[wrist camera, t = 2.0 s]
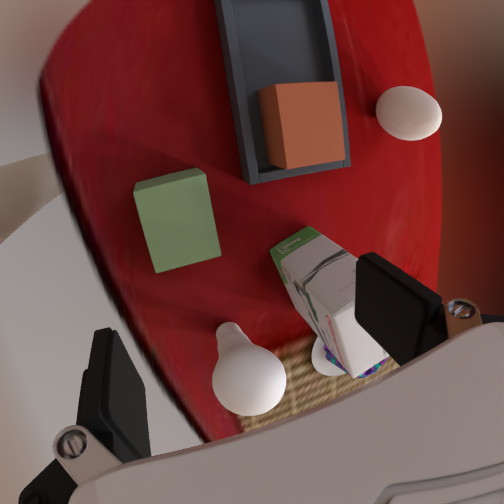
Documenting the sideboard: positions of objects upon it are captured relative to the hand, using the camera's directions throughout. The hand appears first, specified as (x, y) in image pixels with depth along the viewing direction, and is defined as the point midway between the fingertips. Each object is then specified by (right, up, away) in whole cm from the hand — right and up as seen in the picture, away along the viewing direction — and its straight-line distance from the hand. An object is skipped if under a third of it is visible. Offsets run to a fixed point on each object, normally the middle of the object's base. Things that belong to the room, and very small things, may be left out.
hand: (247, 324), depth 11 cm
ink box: (+5, +1, +21) cm, 21 cm away
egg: (+13, +17, +17) cm, 27 cm away
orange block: (+3, +14, +14) cm, 20 cm away
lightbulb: (-3, -5, +21) cm, 21 cm away
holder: (+3, +18, +13) cm, 22 cm away
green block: (-6, +6, +14) cm, 17 cm away
